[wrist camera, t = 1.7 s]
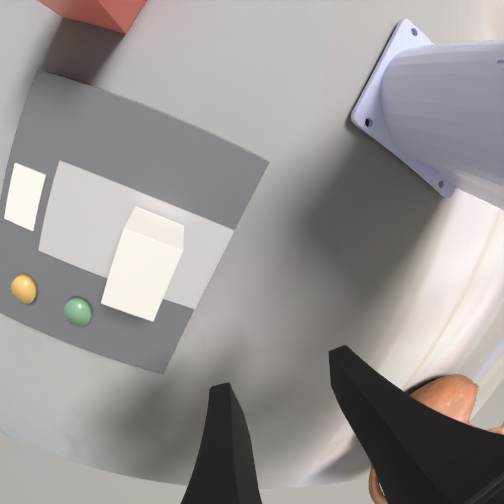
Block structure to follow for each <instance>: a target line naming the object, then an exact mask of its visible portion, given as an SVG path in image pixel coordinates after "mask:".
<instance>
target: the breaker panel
mask: <svg viewBox="0 0 504 504" xmlns="http://www.w3.org/2000/svg"><path fill="white" fill-rule="evenodd" d="M269 163H270V162H268V161H267V160H265V159H264V158H262V157H260V156H258V155H256V154H254V153H252V152H250V151H248V150H246V149H244V148H242V147H240V146H238V145H235V144H233V143H231V142H229V141H227V140H225V139H223V138H221V137H218V136H216V135H214V134H212V133H210V132H207V131H205V130H203V129H201V128H198V127H196V126H194V125H192V124H189V123H187V122H185V121H182V120H180V119H178V118H175V117H173V116H170V115H168V114H166V113H163V112H161V111H158V110H156V109H153V108H151V107H148V106H146V105H143V104H140V103H138V102H135V101H133V100H130V99H127V98H125V97H122V96H119V95H116V94H114V93H111V92H108V91H105V90H102V89H99V88H96V87H94V86H91V85H88V84H85V83H81V82H78V81H75V80H72V79H69V78H66V77H62V76H59V75H56V74H52V73H48V72H44V71H39V70H38V72H37V74H36V77H35V79H34V82H33V84H32V87H31V89H30V92H29V94H28V97H27V100H26V103H25V106H24V108H23V111H22V114H21V117H20V121H19V124H18V127H17V130H16V134H15V137H14V141H13V144H12V148H11V152H10V156H9V160H8V164H7V169H6V173H5V178H4V183H3V188H2V194H1V200H0V313H2V314H4V315H6V316H8V317H10V318H12V319H14V320H16V321H19V322H21V323H23V324H25V325H27V326H29V327H32V328H34V329H36V330H38V331H41V332H43V333H45V334H48V335H50V336H52V337H55V338H57V339H60V340H62V341H65V342H67V343H70V344H72V345H75V346H78V347H80V348H83V349H86V350H88V351H91V352H94V353H97V354H100V355H102V356H105V357H108V358H111V359H114V360H117V361H120V362H124V363H127V364H130V365H133V366H137V367H140V368H143V369H147V370H150V371H154V372H157V373H161V374H164V371H165V369H166V367H167V365H168V363H169V361H170V359H171V357H172V355H173V353H174V350H175V348H176V346H177V344H178V342H179V340H180V338H181V336H182V334H183V332H184V330H185V328H186V326H187V324H188V321H189V319H190V317H191V315H192V313H193V311H194V309H195V308H196V306H197V304H198V302H199V300H200V298H201V296H202V294H203V292H204V290H205V288H206V286H207V284H208V282H209V280H210V278H211V276H212V274H213V272H214V270H215V268H216V266H217V264H218V262H219V260H220V258H221V256H222V254H223V252H224V250H225V248H226V246H227V245H228V243H229V241H230V239H231V237H232V235H233V233H234V230H235V228H236V226H237V224H238V222H239V220H240V218H241V216H242V214H243V212H244V210H245V208H246V206H247V204H248V202H249V201H250V199H251V197H252V195H253V193H254V191H255V189H256V187H257V185H258V183H259V181H260V180H261V178H262V176H263V174H264V172H265V170H266V168H267V166H268V164H269ZM135 206H136V207H139V208H141V209H144V210H146V211H149V212H151V213H154V214H156V215H159V216H162V217H164V218H167V219H169V220H172V221H174V222H177V223H179V224H182V225H184V248H183V253H182V255H181V257H180V260H179V262H178V264H177V266H176V269H175V271H174V273H173V276H172V278H171V280H170V283H169V285H168V287H167V290H166V292H165V294H164V297H163V299H162V302H161V304H160V307H159V309H158V311H157V314H156V316H155V319H154V321H150V320H147V319H144V318H141V317H138V316H135V315H132V314H129V313H126V312H123V311H121V310H118V309H115V308H112V307H109V306H107V305H104V304H101V301H102V297H103V293H104V290H105V286H106V283H107V279H108V276H109V273H110V269H111V266H112V263H113V259H114V256H115V253H116V250H117V247H118V244H119V241H120V238H121V235H122V232H123V229H124V227H125V225H126V223H127V221H128V219H129V217H130V216H131V214H132V212H133V210H134V208H135Z"/></svg>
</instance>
